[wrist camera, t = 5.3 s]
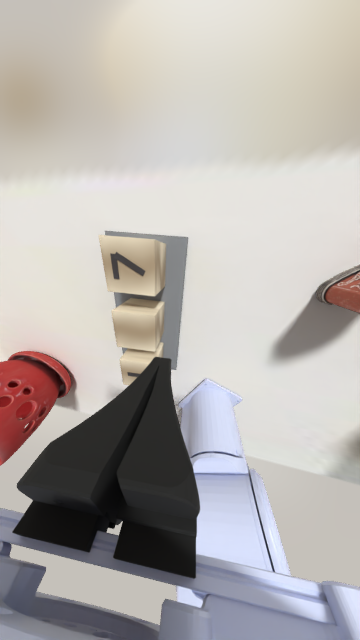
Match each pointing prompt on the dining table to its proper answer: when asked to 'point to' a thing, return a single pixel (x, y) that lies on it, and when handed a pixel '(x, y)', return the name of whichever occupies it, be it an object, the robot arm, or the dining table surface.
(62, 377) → the plant pot
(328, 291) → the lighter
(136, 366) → the block one
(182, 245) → the felt strip
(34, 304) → the dining table surface
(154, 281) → the block seven
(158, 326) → the plain block
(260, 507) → the robot arm
